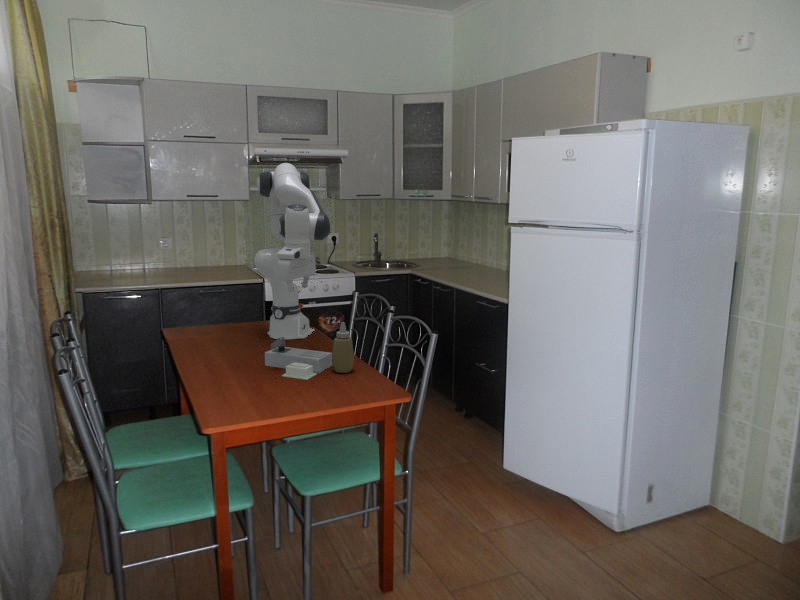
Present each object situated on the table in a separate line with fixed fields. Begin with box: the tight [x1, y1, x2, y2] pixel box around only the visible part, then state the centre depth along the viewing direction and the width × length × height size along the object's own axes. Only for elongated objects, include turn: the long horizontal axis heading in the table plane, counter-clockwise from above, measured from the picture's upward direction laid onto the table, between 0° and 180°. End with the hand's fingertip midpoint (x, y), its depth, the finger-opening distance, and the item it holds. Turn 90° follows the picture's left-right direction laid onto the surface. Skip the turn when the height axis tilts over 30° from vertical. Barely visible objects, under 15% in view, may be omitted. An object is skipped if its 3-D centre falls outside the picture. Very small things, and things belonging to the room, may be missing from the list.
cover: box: [285, 362, 314, 378], centre depth 213 cm, size 5×8×4 cm, turn 69°
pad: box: [281, 372, 318, 381], centre depth 214 cm, size 7×10×1 cm
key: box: [270, 337, 286, 350], centre depth 223 cm, size 2×10×4 cm, turn 170°
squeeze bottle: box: [332, 321, 355, 374], centre depth 218 cm, size 8×8×18 cm
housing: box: [264, 346, 333, 374], centre depth 225 cm, size 10×22×5 cm, turn 69°
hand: (298, 289), depth 218 cm, fingers open, 8 cm apart
